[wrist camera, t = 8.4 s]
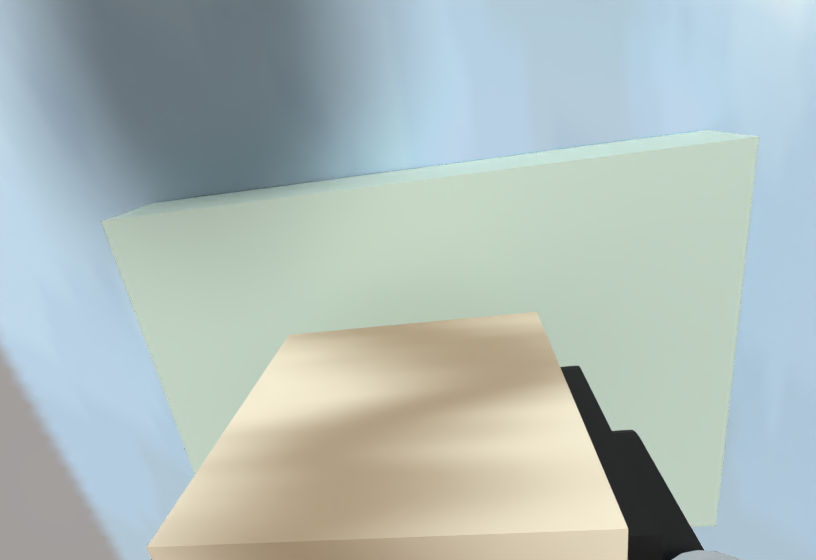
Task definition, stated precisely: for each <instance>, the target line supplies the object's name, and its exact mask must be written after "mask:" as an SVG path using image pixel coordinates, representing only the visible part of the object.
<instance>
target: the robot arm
mask: <svg viewBox="0 0 816 560" xmlns="http://www.w3.org/2000/svg"><path fill="white" fill-rule="evenodd" d="M560 368H561V370H562V373H563V375H564V378H565V380H566V382H567V385H568V387H569V389H570V392H571V394H572V397H573V399H574V401H575V404H576V406H577V408H578V411H579V413H580V416H581V418H582V420H583V423H584V425H585V427H586V430H587V432H588V434H589V437H590V439H591V442H592V444H593V446H594V449H595V451H596V453H597V456H598V458H599V461H600V463H601V465H602V468H603V470H604V472H605V475H606V477H607V480H608V482H609V484H610V487H611V489H612V491H613V494H614V496H615V499H616V501H617V503H618V506H619V508H620V510H621V513H622V515H623V518H624V520H625V522H626V525H627V527H628V558H627V560H740V559H738V558H736V557H733V556H730V555H726V554H723V553H720V552H716V551H704V549H703V547H702V546H701V544H700V542H699V540H698V539H697V537H696V535H695V533H694V532H693V530H692V528H691V526H690V525H689V523H688V521H687V519H686V518H685V516H684V514H683V512H682V511H681V509H680V507H679V505H678V504H677V502H676V500H675V498H674V497H673V495H672V493H671V491H670V490H669V488H668V486H667V484H666V482H665V481H664V479H663V477H662V475H661V474H660V472H659V470H658V468H657V467H656V465H655V463H654V461H653V460H652V458H651V456H650V454H649V453H648V451H647V449H646V447H645V446H644V444H643V442H642V440H641V439H640V437H639V436H638V434H637V433H636V432H635V431H634V430H618V431H612V430H611V428H610V426H609V424H608V422H607V420H606V418H605V416H604V414H603V412H602V410H601V408H600V406H599V404H598V402H597V400H596V398H595V396H594V394H593V392H592V390H591V388H590V386H589V384H588V382H587V380H586V378H585V376H584V374H583V372H582V370H581V368H580V366H565V367H560ZM151 560H152V559H151Z"/></svg>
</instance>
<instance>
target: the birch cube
mask: <svg viewBox="0 0 816 560" xmlns="http://www.w3.org/2000/svg"><path fill="white" fill-rule="evenodd" d="M147 549H148V552H149V554H150V556H151V559H152V560H627V558H628V527H627V525H626V522H625V520H624V518H623V515H622V513H621V510H620V508H619V506H618V503H617V501H616V499H615V496H614V494H613V491H612V489H611V487H610V484H609V482H608V480H607V477H606V475H605V472H604V470H603V468H602V465H601V463H600V461H599V458H598V456H597V453H596V451H595V449H594V446H593V444H592V442H591V439H590V437H589V434H588V432H587V430H586V427H585V425H584V423H583V420H582V418H581V416H580V413H579V411H578V408H577V406H576V404H575V401H574V399H573V397H572V394H571V392H570V389H569V387H568V385H567V382H566V380H565V378H564V375H563V373H562V370H561V368H560V366H559V363H558V361H557V359H556V356H555V354H554V351H553V349H552V347H551V344H550V342H549V340H548V337H547V335H546V333H545V330H544V328H543V325H542V323H541V321H540V318H539V316H538V314H537V312H528V313H517V314H506V315H496V316H485V317H474V318H463V319H452V320H442V321H431V322H420V323H409V324H398V325H388V326H377V327H366V328H355V329H344V330H334V331H323V332H312V333H301V334H290V335H288V337H287V338H286V340H285V341H284V343H283V344H282V346H281V347H280V349H279V350H278V352H277V353H276V355H275V356H274V358H273V359H272V361H271V362H270V364H269V365H268V367H267V368H266V370H265V371H264V373H263V374H262V376H261V377H260V379H259V380H258V382H257V383H256V385H255V386H254V388H253V389H252V391H251V392H250V394H249V395H248V397H247V398H246V400H245V401H244V403H243V404H242V406H241V407H240V409H239V410H238V412H237V413H236V415H235V416H234V418H233V419H232V421H231V422H230V424H229V425H228V427H227V428H226V429H225V431H224V432H223V434H222V435H221V437H220V438H219V440H218V441H217V443H216V444H215V446H214V447H213V449H212V450H211V452H210V453H209V455H208V456H207V458H206V459H205V461H204V462H203V464H202V465H201V467H200V468H199V470H198V471H197V473H196V474H195V476H194V477H193V479H192V480H191V482H190V483H189V485H188V486H187V488H186V489H185V491H184V492H183V494H182V495H181V497H180V498H179V500H178V501H177V503H176V504H175V506H174V507H173V509H172V510H171V512H170V513H169V515H168V516H167V518H166V519H165V521H164V522H163V524H162V525H161V527H160V528H159V530H158V531H157V533H156V534H155V536H154V537H153V539H152V540H151V541H150V543H149V544H148V546H147Z"/></svg>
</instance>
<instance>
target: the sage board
mask: <svg viewBox="0 0 816 560" xmlns="http://www.w3.org/2000/svg"><path fill="white" fill-rule="evenodd" d="M758 141H759V137H758V136H751V135H743V134H735V133H727V132H719V131H711V130H703V131H695V132H688V133H680V134H672V135H665V136H657V137H650V138H642V139H634V140H627V141H619V142H612V143H604V144H597V145H589V146H581V147H574V148H566V149H559V150H551V151H543V152H536V153H528V154H521V155H513V156H505V157H498V158H490V159H483V160H475V161H468V162H460V163H452V164H445V165H437V166H430V167H422V168H414V169H407V170H399V171H392V172H384V173H377V174H369V175H361V176H354V177H346V178H339V179H331V180H323V181H316V182H308V183H301V184H293V185H285V186H278V187H270V188H263V189H255V190H248V191H240V192H232V193H225V194H217V195H210V196H202V197H194V198H187V199H179V200H172V201H164V202H156V203H151V204H148V205H145V206H142V207H139V208H136V209H134V210H131V211H128V212H125V213H122V214H120V215H117V216H114V217H111V218H108V219H106V220H103V221H101V223H102V226H103V228H104V231H105V234H106V236H107V239H108V242H109V245H110V247H111V250H112V253H113V255H114V258H115V261H116V263H117V266H118V269H119V272H120V274H121V277H122V280H123V282H124V285H125V288H126V290H127V293H128V296H129V299H130V301H131V304H132V307H133V309H134V312H135V315H136V317H137V320H138V323H139V326H140V328H141V331H142V334H143V336H144V339H145V342H146V344H147V347H148V350H149V353H150V355H151V358H152V361H153V363H154V366H155V369H156V371H157V374H158V377H159V380H160V382H161V385H162V388H163V390H164V393H165V396H166V398H167V401H168V404H169V407H170V409H171V412H172V415H173V417H174V420H175V423H176V425H177V428H178V431H179V434H180V436H181V439H182V442H183V444H184V447H185V450H186V452H187V455H188V458H189V461H190V463H191V466H192V469H193V471H194V474H196V473H197V471H198V470H199V468H200V467H201V465H202V464H203V462H204V461H205V459H206V458H207V456H208V455H209V453H210V452H211V450H212V449H213V447H214V446H215V444H216V443H217V441H218V440H219V438H220V437H221V435H222V434H223V432H224V431H225V429H226V428H227V427H228V425H229V424H230V422H231V421H232V419H233V418H234V416H235V415H236V413H237V412H238V410H239V409H240V407H241V406H242V404H243V403H244V401H245V400H246V398H247V397H248V395H249V394H250V392H251V391H252V389H253V388H254V386H255V385H256V383H257V382H258V380H259V379H260V377H261V376H262V374H263V373H264V371H265V370H266V368H267V367H268V365H269V364H270V362H271V361H272V359H273V358H274V356H275V355H276V353H277V352H278V350H279V349H280V347H281V346H282V344H283V343H284V341H285V340H286V338H287V337H288V335H290V334H301V333H312V332H323V331H334V330H344V329H355V328H366V327H377V326H388V325H398V324H409V323H420V322H431V321H442V320H452V319H463V318H474V317H485V316H496V315H506V314H517V313H528V312H537V314H538V316H539V318H540V321H541V323H542V325H543V328H544V330H545V333H546V335H547V337H548V340H549V342H550V344H551V347H552V349H553V351H554V354H555V356H556V359H557V361H558V363H559V366H560V367H565V366H580V368H581V370H582V372H583V374H584V376H585V378H586V380H587V382H588V384H589V386H590V388H591V390H592V392H593V394H594V396H595V398H596V400H597V402H598V404H599V406H600V408H601V410H602V412H603V414H604V416H605V418H606V420H607V422H608V424H609V426H610V428H611V430H612V431H618V430H634V431H635V432H636V433H637V434H638V436H639V437H640V439H641V440H642V442H643V444H644V446H645V447H646V449H647V451H648V453H649V454H650V456H651V458H652V460H653V461H654V463H655V465H656V467H657V468H658V470H659V472H660V474H661V475H662V477H663V479H664V481H665V482H666V484H667V486H668V488H669V490H670V491H671V493H672V495H673V497H674V498H675V500H676V502H677V504H678V505H679V507H680V509H681V511H682V512H683V514H684V516H685V518H686V519H687V521H688V523H689V525H690V526H691V527H699V526H716V521H717V512H718V503H719V494H720V485H721V476H722V467H723V457H724V448H725V439H726V430H727V421H728V412H729V403H730V394H731V385H732V376H733V367H734V358H735V349H736V340H737V331H738V322H739V313H740V304H741V295H742V286H743V277H744V268H745V259H746V250H747V241H748V232H749V223H750V214H751V205H752V196H753V186H754V177H755V168H756V159H757V150H758Z"/></svg>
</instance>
